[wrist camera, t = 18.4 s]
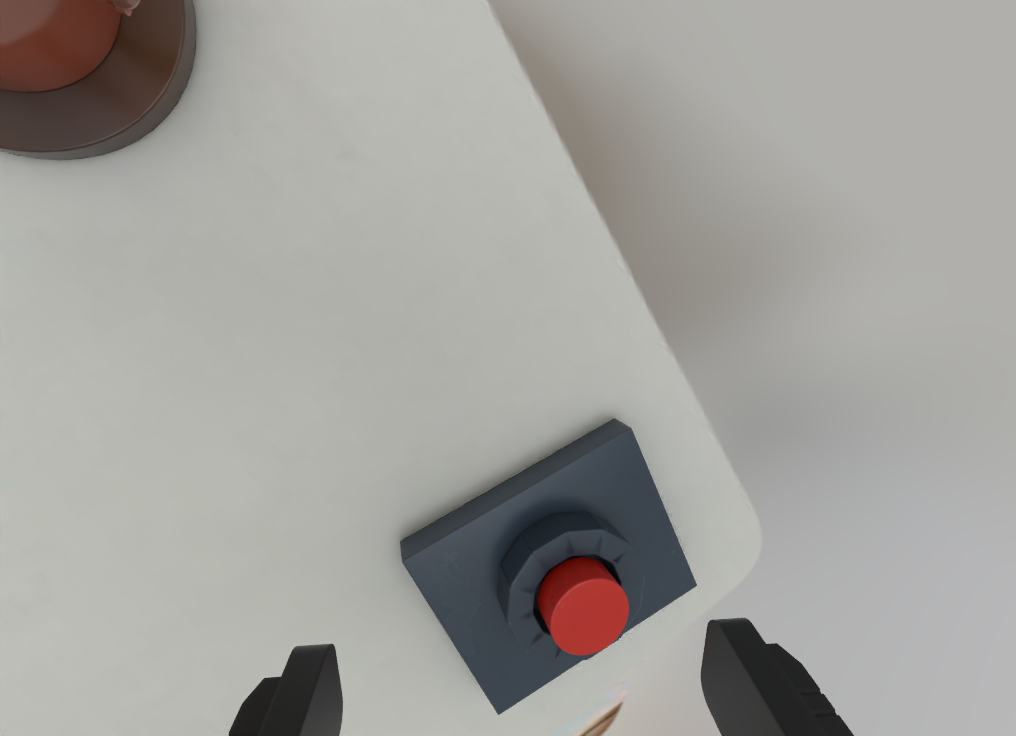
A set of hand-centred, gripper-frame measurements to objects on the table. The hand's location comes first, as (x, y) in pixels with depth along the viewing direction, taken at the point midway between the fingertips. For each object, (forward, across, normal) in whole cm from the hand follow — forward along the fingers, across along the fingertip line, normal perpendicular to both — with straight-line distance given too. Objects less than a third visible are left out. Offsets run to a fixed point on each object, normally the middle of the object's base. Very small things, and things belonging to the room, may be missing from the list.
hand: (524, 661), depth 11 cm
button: (+10, -3, +7) cm, 13 cm away
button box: (+13, -3, +8) cm, 15 cm away
